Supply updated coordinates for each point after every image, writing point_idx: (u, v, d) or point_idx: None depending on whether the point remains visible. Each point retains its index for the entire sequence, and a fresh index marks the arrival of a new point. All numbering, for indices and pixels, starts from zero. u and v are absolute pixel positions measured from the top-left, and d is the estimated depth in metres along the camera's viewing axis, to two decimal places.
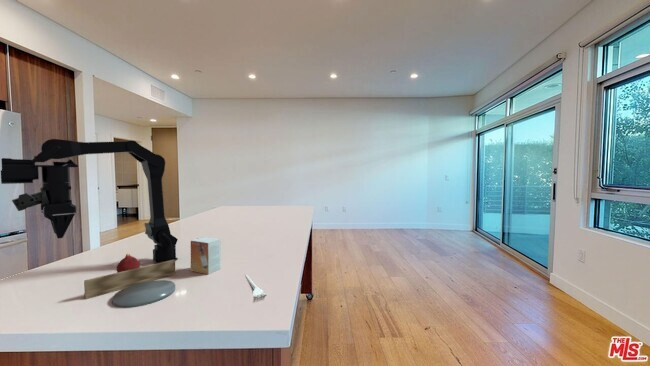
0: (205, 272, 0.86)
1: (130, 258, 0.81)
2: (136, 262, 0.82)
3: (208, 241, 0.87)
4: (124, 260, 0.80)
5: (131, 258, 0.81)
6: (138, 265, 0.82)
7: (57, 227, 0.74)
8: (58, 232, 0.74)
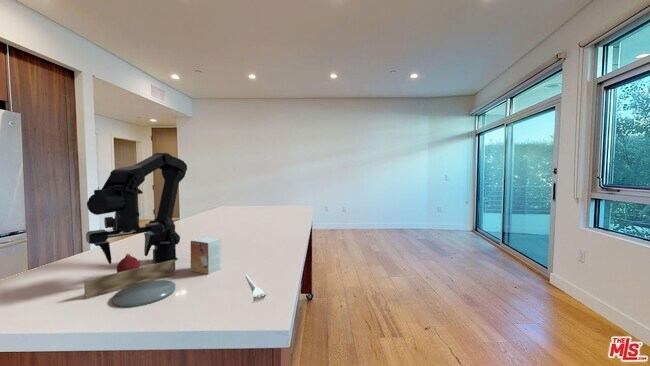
0: (205, 272, 0.86)
1: (130, 258, 0.81)
2: (136, 262, 0.82)
3: (208, 241, 0.87)
4: (124, 260, 0.80)
5: (131, 258, 0.81)
6: (138, 265, 0.82)
7: (104, 253, 0.78)
8: (106, 257, 0.78)
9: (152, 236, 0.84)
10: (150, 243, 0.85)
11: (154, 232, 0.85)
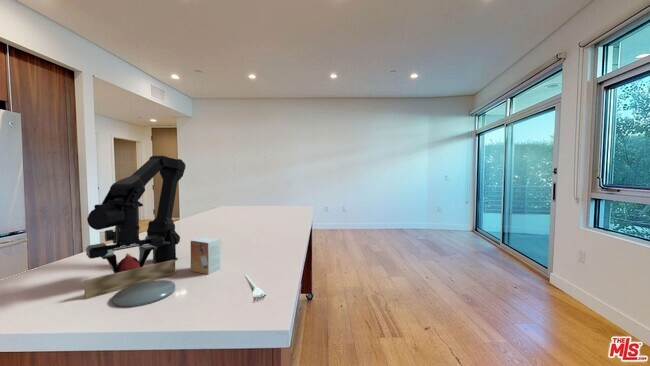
0: (205, 272, 0.86)
1: (130, 258, 0.81)
2: (136, 262, 0.82)
3: (208, 241, 0.87)
4: (124, 260, 0.80)
5: (131, 258, 0.81)
6: (138, 265, 0.82)
7: (111, 265, 0.79)
8: (113, 270, 0.79)
9: (147, 250, 0.83)
10: (145, 257, 0.83)
11: (154, 245, 0.85)
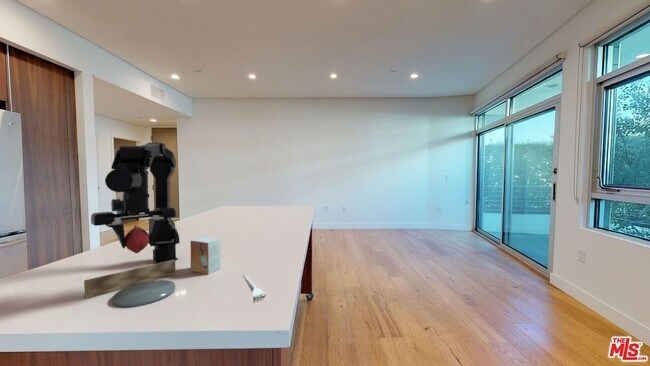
0: (205, 272, 0.86)
1: (139, 229, 0.74)
2: (145, 234, 0.74)
3: (208, 241, 0.87)
4: (132, 231, 0.73)
5: (140, 229, 0.74)
6: (147, 238, 0.75)
7: (118, 236, 0.71)
8: (120, 241, 0.72)
9: (157, 221, 0.75)
10: (154, 229, 0.76)
11: (165, 216, 0.77)
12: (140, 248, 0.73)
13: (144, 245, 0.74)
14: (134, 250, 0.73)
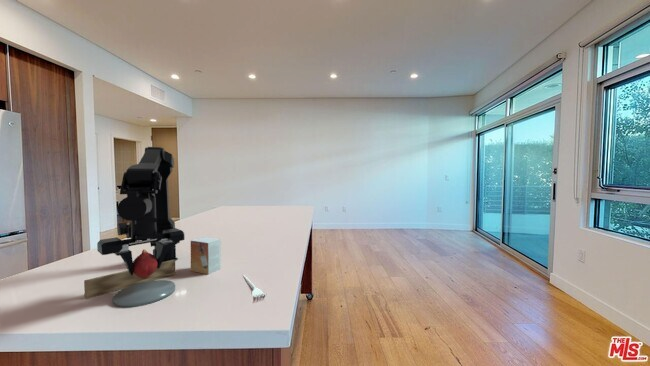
0: (205, 272, 0.86)
1: (147, 254, 0.71)
2: (154, 259, 0.72)
3: (208, 241, 0.87)
4: (140, 257, 0.70)
5: (148, 255, 0.71)
6: (156, 263, 0.72)
7: (125, 263, 0.69)
8: (127, 268, 0.69)
9: (165, 246, 0.73)
10: (163, 254, 0.73)
11: (174, 240, 0.74)
12: (148, 274, 0.71)
13: (153, 271, 0.71)
14: (142, 276, 0.70)
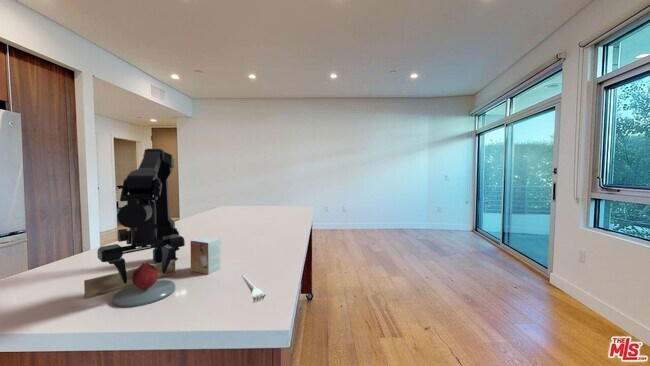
0: (205, 272, 0.86)
1: (147, 265, 0.71)
2: (154, 270, 0.72)
3: (208, 241, 0.87)
4: (141, 268, 0.70)
5: (148, 265, 0.72)
6: (156, 273, 0.72)
7: (119, 271, 0.68)
8: (121, 276, 0.68)
9: (171, 251, 0.74)
10: (169, 259, 0.74)
11: (174, 246, 0.74)
12: (149, 285, 0.71)
13: (153, 282, 0.71)
14: (143, 287, 0.70)
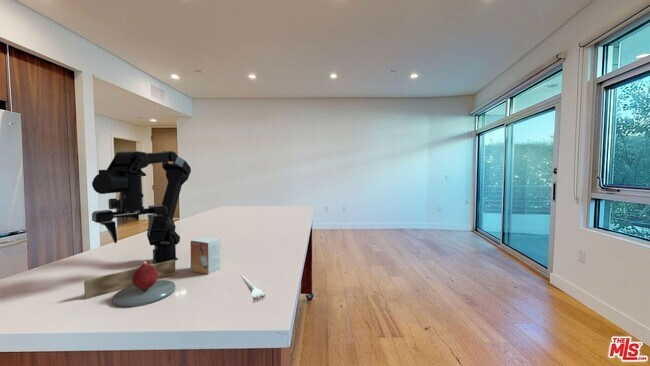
0: (205, 272, 0.86)
1: (147, 266, 0.71)
2: (154, 271, 0.72)
3: (208, 241, 0.87)
4: (141, 269, 0.70)
5: (149, 266, 0.71)
6: (156, 274, 0.72)
7: (110, 232, 0.80)
8: (112, 237, 0.80)
9: (156, 217, 0.87)
10: (154, 224, 0.87)
11: (158, 213, 0.87)
12: (149, 286, 0.71)
13: (153, 283, 0.71)
14: (143, 288, 0.70)
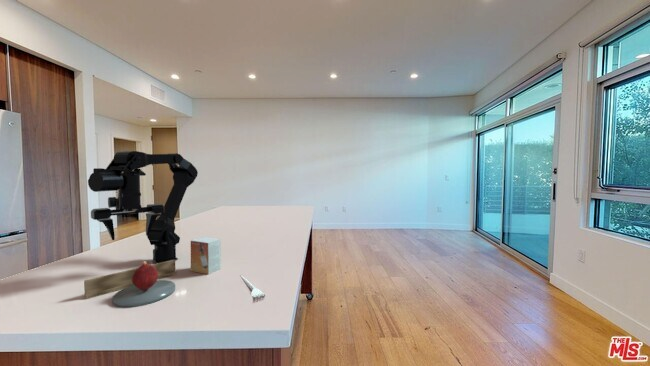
0: (205, 272, 0.86)
1: (147, 266, 0.71)
2: (154, 271, 0.72)
3: (208, 241, 0.87)
4: (141, 269, 0.70)
5: (149, 266, 0.71)
6: (156, 274, 0.72)
7: (108, 230, 0.82)
8: None
9: (153, 216, 0.89)
10: (151, 222, 0.89)
11: (155, 212, 0.89)
12: (149, 286, 0.71)
13: (153, 283, 0.71)
14: (143, 288, 0.70)
